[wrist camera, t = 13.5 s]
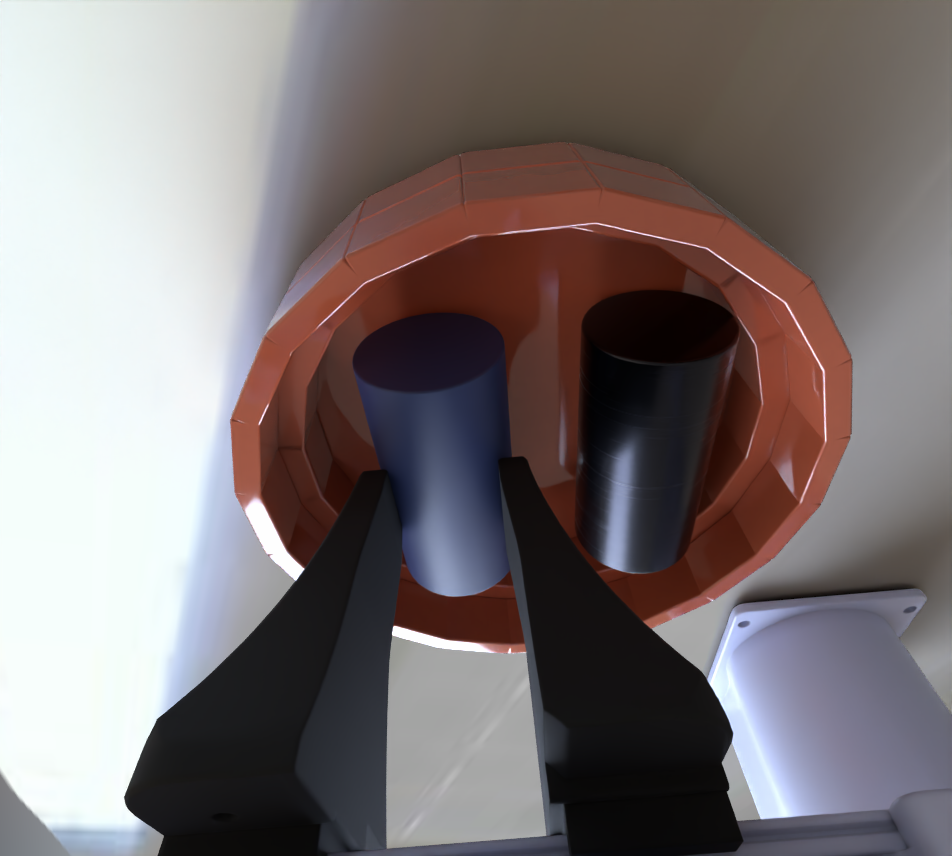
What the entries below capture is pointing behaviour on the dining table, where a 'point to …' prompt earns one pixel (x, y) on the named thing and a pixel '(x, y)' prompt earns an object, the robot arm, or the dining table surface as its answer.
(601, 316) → the black cylinder
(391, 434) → the navy tube
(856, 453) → the dining table surface
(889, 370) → the dining table surface
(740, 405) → the bowl
